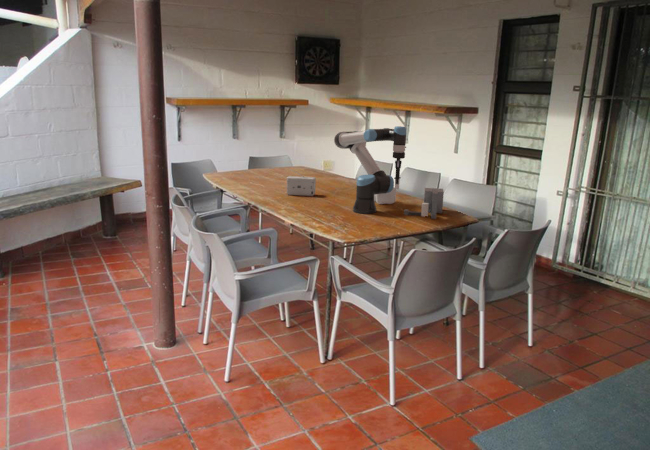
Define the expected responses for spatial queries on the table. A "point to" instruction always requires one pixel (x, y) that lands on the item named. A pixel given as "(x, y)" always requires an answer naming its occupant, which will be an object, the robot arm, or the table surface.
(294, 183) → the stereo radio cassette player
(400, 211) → the table surface
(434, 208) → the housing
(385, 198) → the cable organizer
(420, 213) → the plug
